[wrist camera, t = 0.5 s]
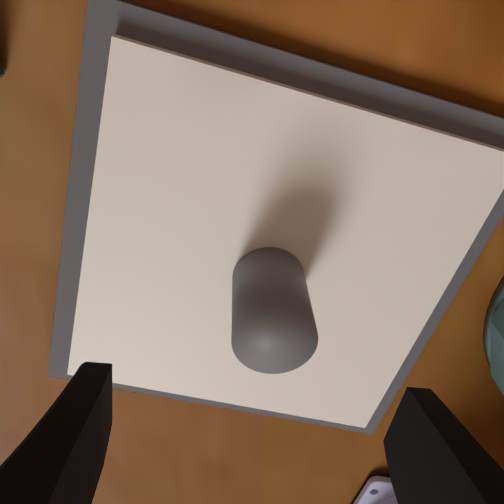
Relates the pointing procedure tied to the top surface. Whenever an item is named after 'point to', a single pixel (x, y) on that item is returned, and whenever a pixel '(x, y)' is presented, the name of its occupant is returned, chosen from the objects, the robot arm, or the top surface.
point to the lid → (266, 237)
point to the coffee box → (1, 70)
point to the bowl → (495, 336)
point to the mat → (269, 67)
